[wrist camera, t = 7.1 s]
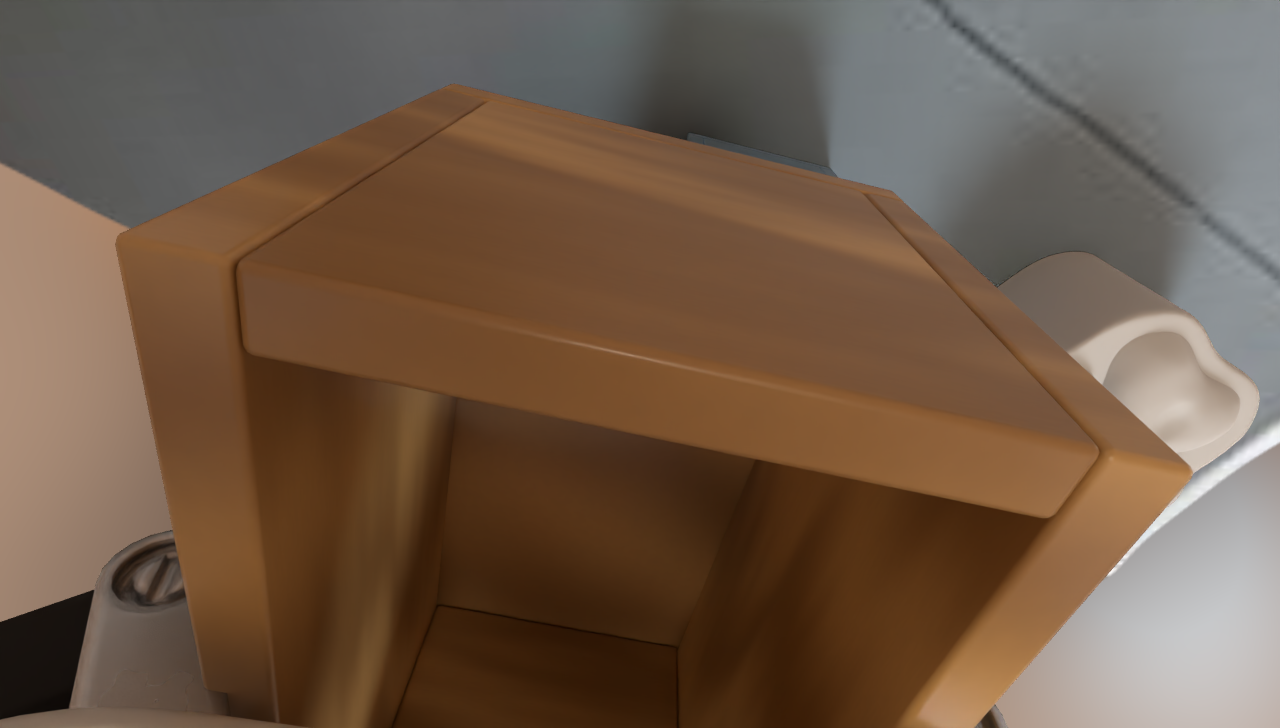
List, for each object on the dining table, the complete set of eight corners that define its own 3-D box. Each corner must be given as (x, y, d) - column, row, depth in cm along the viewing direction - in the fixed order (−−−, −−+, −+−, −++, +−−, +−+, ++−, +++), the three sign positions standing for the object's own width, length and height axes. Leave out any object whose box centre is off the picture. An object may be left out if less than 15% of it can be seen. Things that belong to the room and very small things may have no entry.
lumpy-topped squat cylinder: (1182, 344, 35) (1319, 438, 28) (981, 483, 41) (1050, 594, 33) (1069, 225, 32) (1188, 294, 25) (869, 392, 38) (917, 490, 30)
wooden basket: (697, 647, 16) (713, 1030, 10) (414, 596, 16) (259, 970, 10) (894, 190, 10) (1203, 472, 4) (451, 81, 10) (107, 234, 4)
